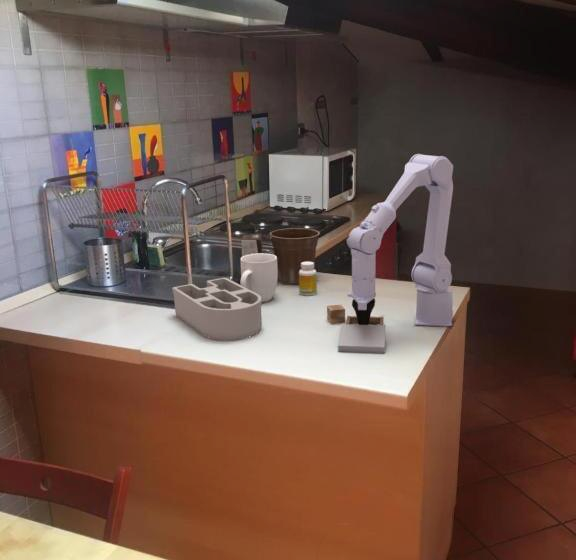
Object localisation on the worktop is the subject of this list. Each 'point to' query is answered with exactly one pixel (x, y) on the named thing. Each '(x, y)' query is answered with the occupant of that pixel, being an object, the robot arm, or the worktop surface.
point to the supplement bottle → (307, 279)
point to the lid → (362, 338)
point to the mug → (260, 274)
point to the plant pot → (293, 251)
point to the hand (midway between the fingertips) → (363, 327)
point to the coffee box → (251, 244)
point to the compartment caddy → (219, 309)
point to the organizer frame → (372, 320)
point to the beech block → (336, 314)
